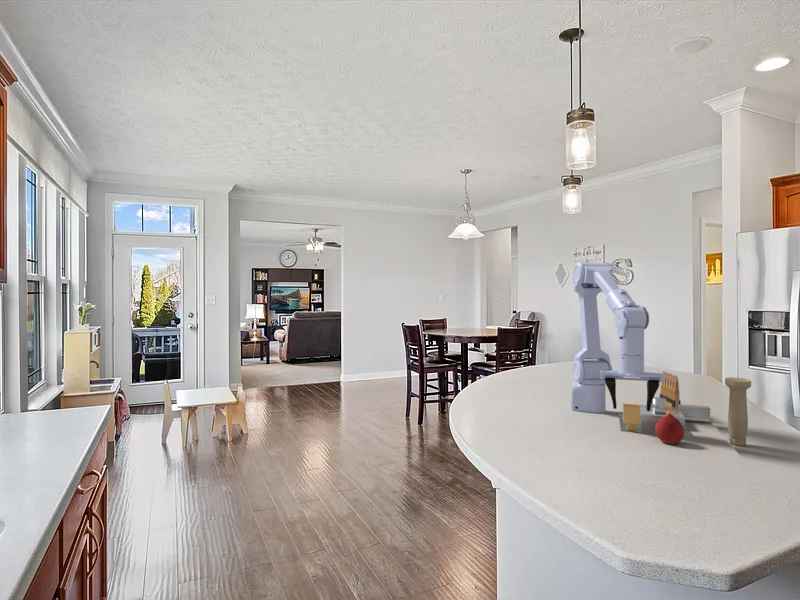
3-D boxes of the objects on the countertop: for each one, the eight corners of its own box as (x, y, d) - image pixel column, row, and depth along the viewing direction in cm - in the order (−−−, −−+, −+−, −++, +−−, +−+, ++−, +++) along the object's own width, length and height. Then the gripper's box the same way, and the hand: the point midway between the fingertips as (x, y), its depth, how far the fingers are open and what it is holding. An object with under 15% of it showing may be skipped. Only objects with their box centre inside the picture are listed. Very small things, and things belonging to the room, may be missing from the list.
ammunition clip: (680, 418, 147) (681, 376, 147) (674, 418, 147) (674, 375, 147) (665, 410, 158) (665, 370, 158) (659, 410, 158) (659, 370, 158)
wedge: (623, 431, 130) (623, 406, 129) (623, 425, 135) (623, 402, 135) (639, 432, 128) (639, 407, 128) (638, 427, 133) (638, 403, 133)
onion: (681, 444, 121) (681, 410, 121) (686, 451, 116) (686, 415, 116) (653, 442, 123) (653, 408, 123) (657, 449, 118) (657, 413, 118)
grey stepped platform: (620, 435, 130) (620, 408, 130) (618, 416, 149) (618, 394, 149) (723, 444, 122) (723, 416, 122) (706, 423, 141) (707, 399, 141)
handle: (745, 441, 124) (745, 378, 124) (754, 449, 118) (754, 382, 118) (722, 439, 125) (722, 377, 125) (729, 447, 119) (729, 381, 119)
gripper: (600, 355, 130) (600, 410, 130) (665, 357, 125) (665, 414, 125) (600, 352, 137) (600, 404, 137) (662, 354, 132) (662, 409, 132)
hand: (631, 409), depth 131 cm, fingers open, 7 cm apart
